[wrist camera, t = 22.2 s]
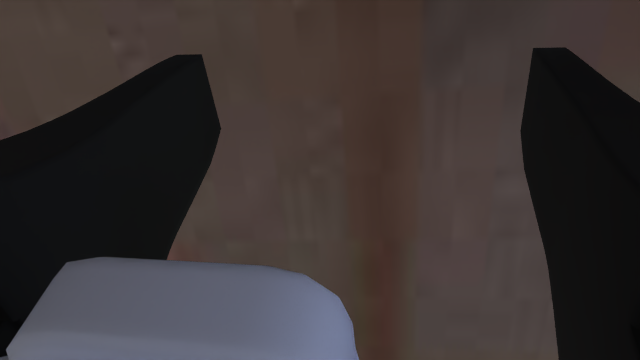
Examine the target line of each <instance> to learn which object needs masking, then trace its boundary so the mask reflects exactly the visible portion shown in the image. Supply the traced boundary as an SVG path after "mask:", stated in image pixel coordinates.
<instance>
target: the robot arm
mask: <svg viewBox="0 0 640 360" xmlns="http://www.w3.org/2000/svg"><path fill="white" fill-rule="evenodd" d="M220 130H221V127H220V123H219V119H218V115H217V111H216V108H215V104H214V100H213V96H212V92H211V88H210V85H209V81H208V77H207V73H206V69H205V65H204V62H203V58H202V54H199V55H175V56H173V57H170V58H168V59H166V60H164V61H162V62H160V63H158V64H156V65H154V66H152V67H150V68H149V69H147V70H145V71H143V72H142V73H140V74H138V75H136V76H135V77H133V78H131V79H130V80H128V81H126V82H124V83H123V84H121V85H119V86H117V87H116V88H114V89H112V90H110V91H109V92H107V93H105V94H103V95H101V96H99V97H97V98H96V99H94V100H92V101H90V102H88V103H86V104H84V105H82V106H81V107H79V108H77V109H75V110H73V111H71V112H69V113H67V114H65V115H63V116H60V117H58V118H56V119H54V120H52V121H49V122H47V123H45V124H42V125H40V126H38V127H35V128H33V129H31V130H28V131H25V132H23V133H20V134H17V135H14V136H12V137H9V138H6V139H3V140H0V360H359V358H358V355H357V352H356V349H355V340H354V331H353V323H352V321H351V319H350V317H349V315H348V313H347V311H346V310H345V308H344V306H343V304H342V302H341V300H340V298H339V297H338V296H337V295H335V294H334V293H333V292H331V291H330V290H328V289H326V288H325V287H323V286H322V285H320V284H319V283H317V282H316V281H314V280H313V279H311V278H310V277H308V276H307V275H305V274H301V273H297V272H293V271H288V270H284V269H280V268H275V267H271V266H264V265H246V264H228V263H210V262H192V261H173V260H167V257H168V254H169V251H170V248H171V246H172V244H173V241H174V239H175V237H176V234H177V232H178V230H179V228H180V226H181V224H182V222H183V220H184V218H185V216H186V214H187V212H188V210H189V208H190V206H191V204H192V202H193V199H194V197H195V195H196V193H197V191H198V189H199V187H200V185H201V183H202V181H203V179H204V177H205V175H206V172H207V170H208V168H209V166H210V164H211V161H212V158H213V155H214V152H215V148H216V145H217V141H218V138H219V134H220ZM521 141H522V152H523V162H524V170H525V174H526V178H527V182H528V186H529V190H530V194H531V198H532V202H533V206H534V210H535V214H536V218H537V222H538V226H539V230H540V234H541V238H542V241H543V245H544V249H545V254H546V259H547V264H548V270H549V278H550V285H551V293H552V301H553V309H554V319H555V328H556V337H557V346H558V356H559V360H640V103H639V102H638V101H636V100H635V99H633V98H632V97H630V96H629V95H628V94H626V93H625V92H623V91H622V90H621V89H619V88H618V87H616V86H615V85H614V84H612V83H611V82H610V81H608V80H607V79H606V78H604V77H603V76H602V75H601V74H599V73H598V72H597V71H595V70H594V69H593V68H592V67H590V66H589V65H588V64H587V63H585V62H584V61H583V60H582V59H580V58H579V57H578V56H576V55H575V54H574V53H573V52H571V51H570V50H568V49H567V48H533V53H532V59H531V66H530V73H529V79H528V86H527V92H526V99H525V105H524V112H523V119H522V125H521Z"/></svg>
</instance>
